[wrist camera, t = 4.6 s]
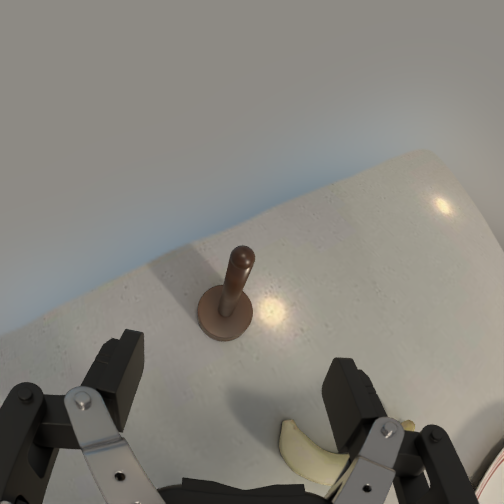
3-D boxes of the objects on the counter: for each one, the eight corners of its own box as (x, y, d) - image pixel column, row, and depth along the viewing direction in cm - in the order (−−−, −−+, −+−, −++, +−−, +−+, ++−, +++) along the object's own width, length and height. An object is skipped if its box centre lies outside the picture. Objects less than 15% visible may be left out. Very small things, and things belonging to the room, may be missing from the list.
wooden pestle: (198, 342, 30) (196, 300, 15) (197, 292, 32) (196, 211, 17) (250, 340, 30) (296, 297, 16) (247, 291, 32) (284, 212, 18)
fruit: (395, 474, 26) (412, 479, 23) (270, 481, 24) (278, 491, 21) (404, 419, 29) (421, 419, 26) (280, 417, 28) (290, 421, 25)
